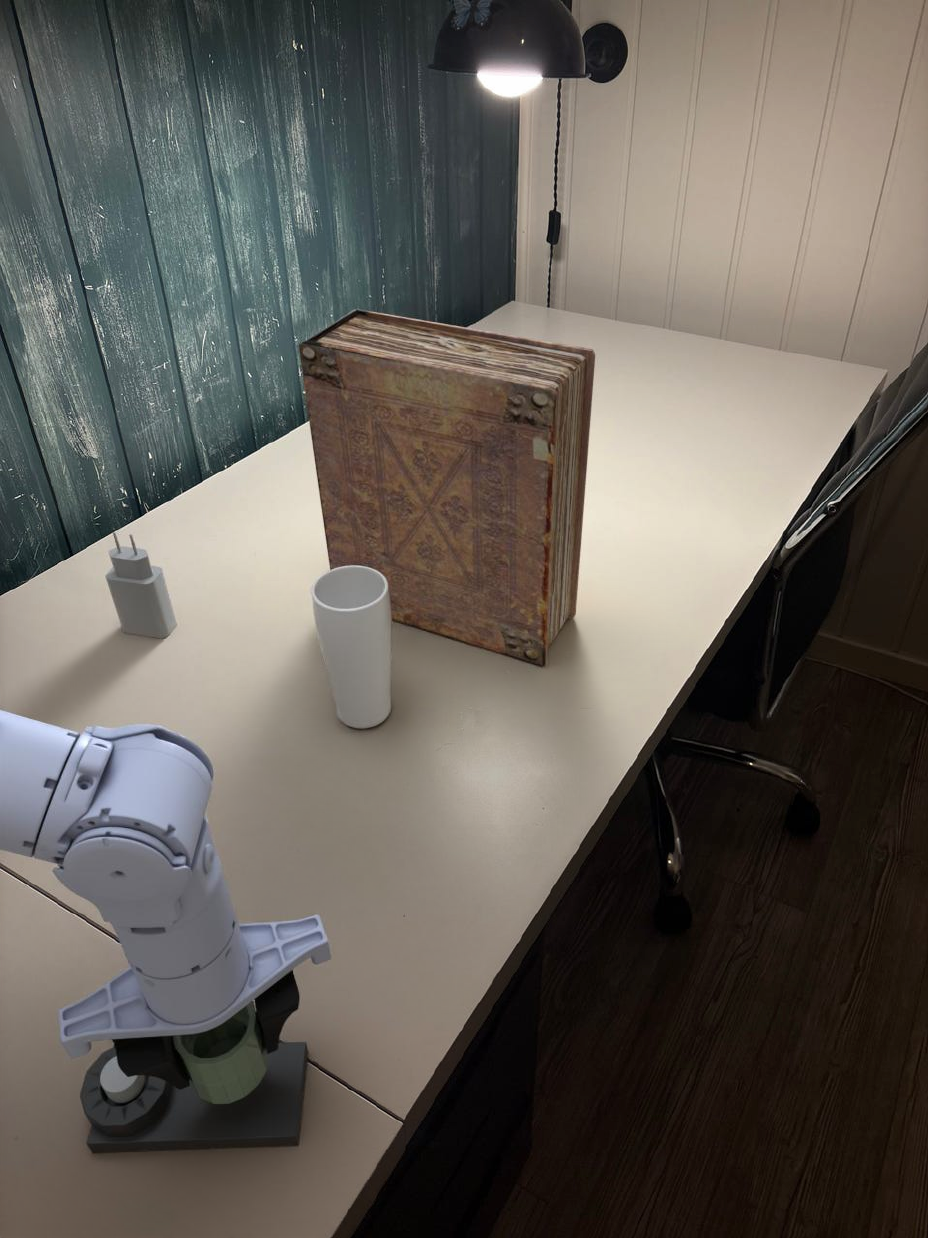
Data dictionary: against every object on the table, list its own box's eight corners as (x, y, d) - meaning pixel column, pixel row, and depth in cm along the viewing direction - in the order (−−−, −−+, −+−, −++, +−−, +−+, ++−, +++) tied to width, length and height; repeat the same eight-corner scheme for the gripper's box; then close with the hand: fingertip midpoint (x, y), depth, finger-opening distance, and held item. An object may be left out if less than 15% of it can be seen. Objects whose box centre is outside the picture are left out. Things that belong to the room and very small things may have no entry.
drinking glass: (404, 689, 91) (394, 565, 81) (393, 739, 85) (382, 612, 76) (336, 685, 91) (319, 562, 82) (322, 735, 86) (301, 609, 76)
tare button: (101, 1104, 57) (95, 1093, 56) (112, 1066, 59) (105, 1054, 58) (140, 1103, 57) (134, 1092, 56) (149, 1064, 59) (143, 1053, 58)
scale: (81, 1154, 58) (68, 1133, 56) (107, 1058, 62) (96, 1036, 60) (298, 1146, 58) (292, 1125, 56) (308, 1051, 62) (303, 1029, 61)
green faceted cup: (199, 1121, 55) (180, 1078, 52) (185, 1048, 58) (166, 1004, 55) (277, 1088, 56) (264, 1044, 53) (259, 1019, 60) (245, 974, 56)
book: (577, 617, 99) (598, 349, 80) (544, 669, 93) (558, 391, 74) (376, 559, 108) (352, 307, 89) (333, 602, 102) (298, 340, 83)
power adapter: (134, 614, 101) (106, 522, 93) (179, 621, 100) (154, 528, 92) (119, 632, 98) (89, 538, 91) (165, 639, 97) (138, 545, 90)
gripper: (295, 827, 53) (321, 956, 61) (28, 917, 49) (97, 1043, 57) (330, 926, 48) (354, 1052, 56) (36, 1036, 43) (110, 1155, 52)
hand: (226, 1054), depth 56 cm, fingers closed on green faceted cup, 5 cm apart
